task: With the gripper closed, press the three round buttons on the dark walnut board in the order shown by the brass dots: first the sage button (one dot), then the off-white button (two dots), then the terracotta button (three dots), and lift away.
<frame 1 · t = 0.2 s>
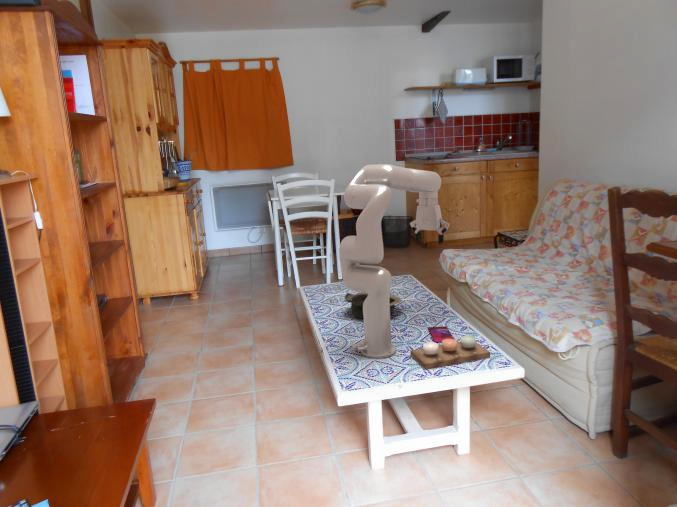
hand: (429, 243, 211), 31 cm above the table, tool pointing down, fingers open, 9 cm apart
sage button: (467, 341, 175), point 4 cm above the table, slide at 0.0 cm
terracotta button: (449, 344, 173), point 4 cm above the table, slide at 0.0 cm
off-white button: (430, 348, 172), point 4 cm above the table, slide at 0.0 cm
smartphone: (440, 336, 194), on the table
stone bowl: (374, 313, 223), on the table
button board: (449, 356, 174), on the table
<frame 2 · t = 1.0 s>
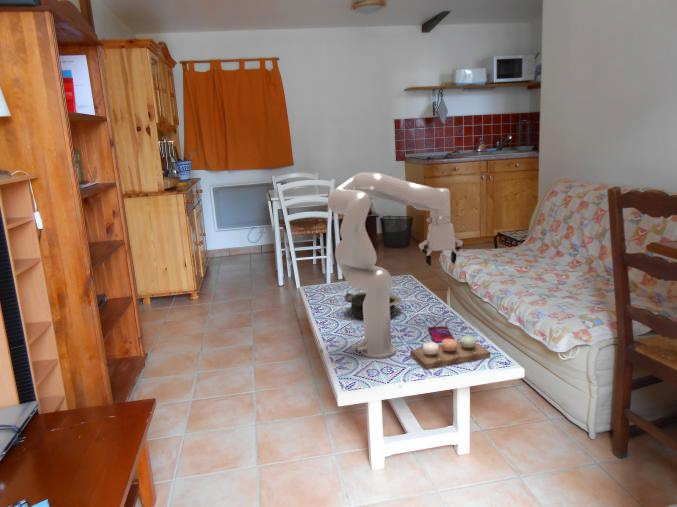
hand: (441, 263, 198), 26 cm above the table, tool pointing down, fingers open, 9 cm apart
nothing on the table moved.
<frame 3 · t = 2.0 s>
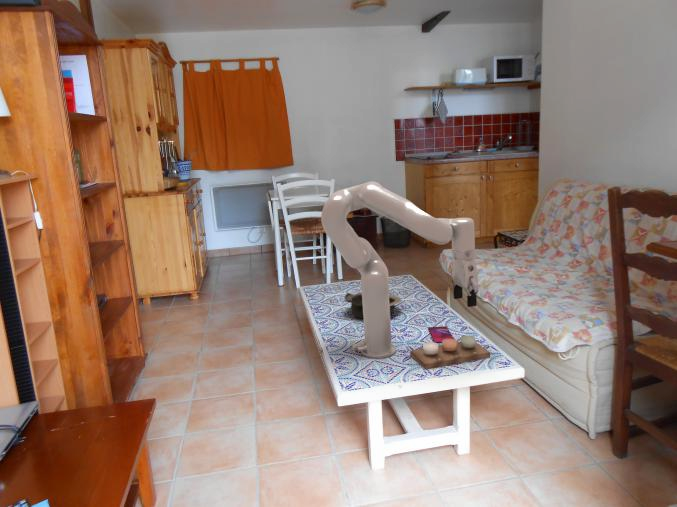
hand: (464, 302, 176), 18 cm above the table, tool pointing down, fingers open, 9 cm apart
nothing on the table moved.
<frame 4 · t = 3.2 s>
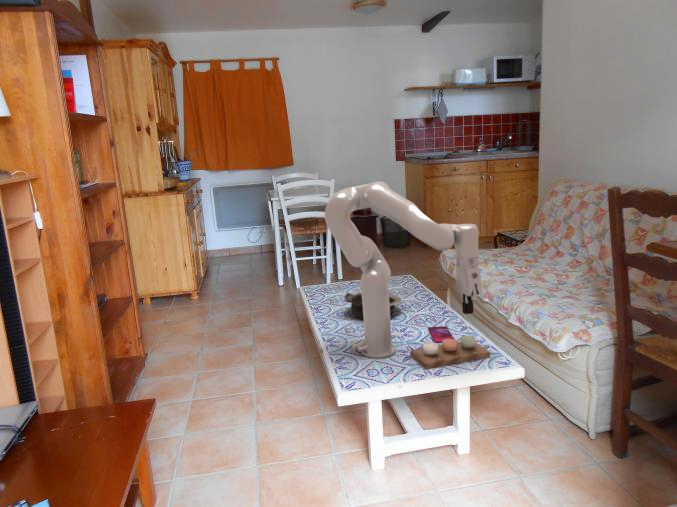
hand: (467, 312, 173), 15 cm above the table, tool pointing down, fingers closed
nothing on the table moved.
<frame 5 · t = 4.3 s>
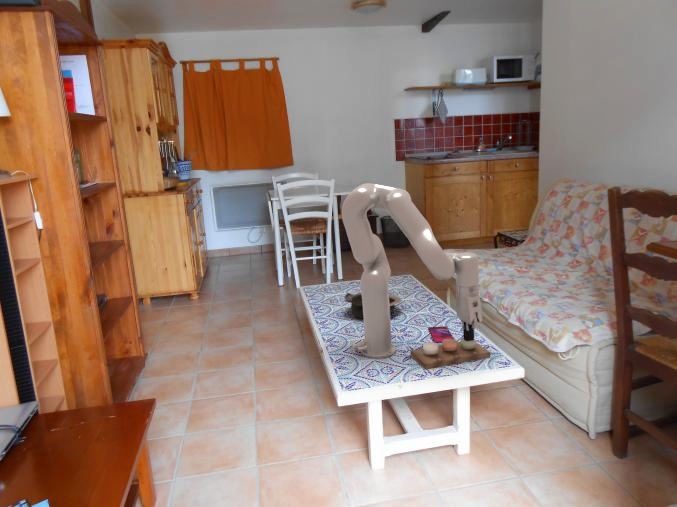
hand: (468, 339, 175), 5 cm above the table, tool pointing down, fingers closed
sage button: (467, 343, 175), point 4 cm above the table, slide at 0.7 cm
everything else where it was.
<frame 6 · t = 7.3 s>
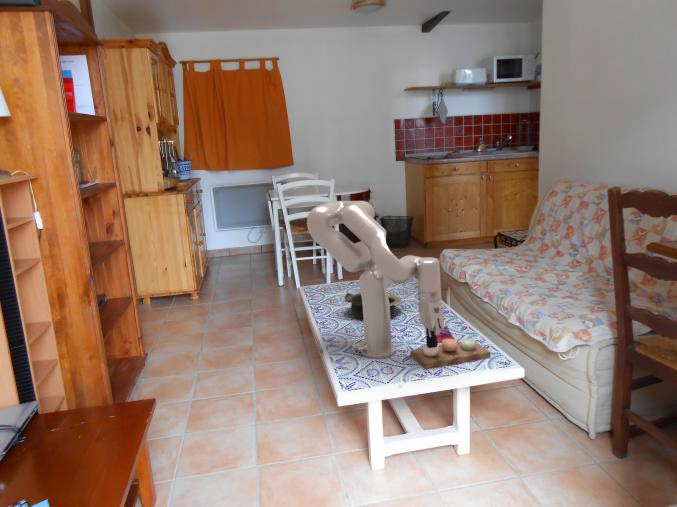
hand: (432, 346, 171), 5 cm above the table, tool pointing down, fingers closed
sage button: (467, 344, 175), point 3 cm above the table, slide at 1.0 cm
off-white button: (430, 349, 172), point 4 cm above the table, slide at 0.6 cm
everything else where it was.
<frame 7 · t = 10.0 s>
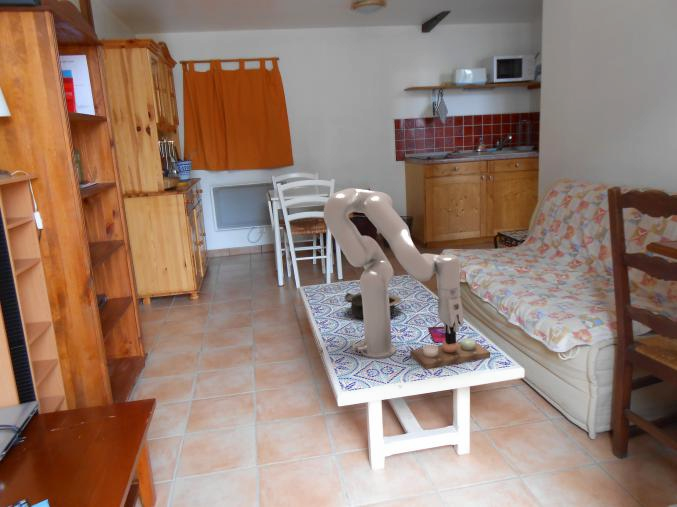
hand: (450, 342, 173), 5 cm above the table, tool pointing down, fingers closed
terracotta button: (449, 346, 174), point 4 cm above the table, slide at 0.5 cm, touching gripper
off-white button: (430, 350, 172), point 3 cm above the table, slide at 1.0 cm
everything else where it was.
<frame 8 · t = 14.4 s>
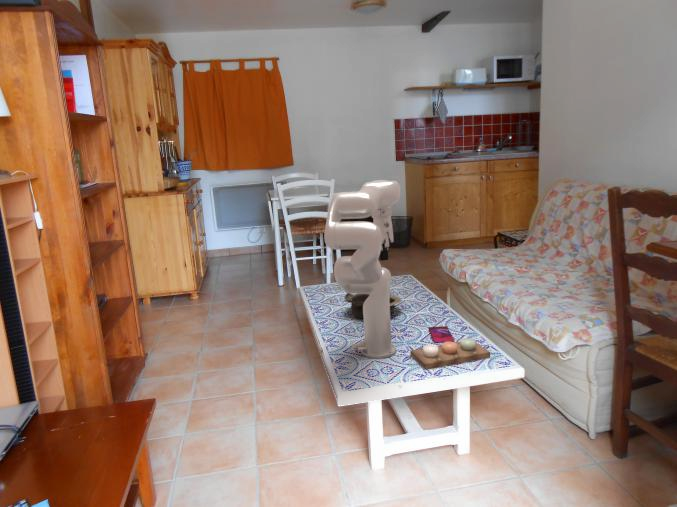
hand: (383, 259, 196), 29 cm above the table, tool pointing down, fingers closed
terracotta button: (449, 347, 174), point 3 cm above the table, slide at 1.0 cm
everything else where it was.
at the end: sage button slide at 1.0 cm; off-white button slide at 1.0 cm; terracotta button slide at 1.0 cm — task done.
